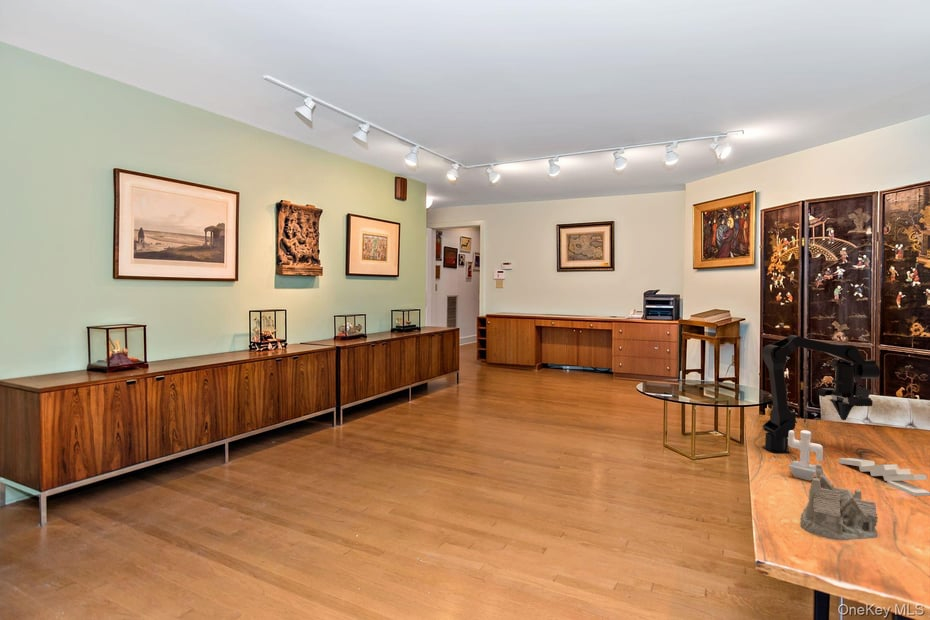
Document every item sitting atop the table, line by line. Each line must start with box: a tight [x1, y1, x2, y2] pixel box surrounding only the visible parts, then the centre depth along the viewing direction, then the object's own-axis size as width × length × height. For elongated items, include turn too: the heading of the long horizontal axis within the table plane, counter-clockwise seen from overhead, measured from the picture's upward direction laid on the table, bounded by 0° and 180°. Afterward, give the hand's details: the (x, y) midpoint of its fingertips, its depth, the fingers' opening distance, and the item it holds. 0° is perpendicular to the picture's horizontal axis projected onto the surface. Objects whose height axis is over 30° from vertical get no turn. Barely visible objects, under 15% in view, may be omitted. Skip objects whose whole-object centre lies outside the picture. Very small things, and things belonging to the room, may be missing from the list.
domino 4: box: [882, 474, 928, 482], centre depth 154 cm, size 5×2×9 cm
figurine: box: [787, 429, 824, 482], centre depth 161 cm, size 7×9×15 cm
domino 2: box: [858, 463, 900, 473], centre depth 163 cm, size 5×2×9 cm
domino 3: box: [870, 468, 912, 477], centre depth 159 cm, size 5×2×9 cm
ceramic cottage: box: [800, 463, 879, 541], centre depth 126 cm, size 16×16×15 cm
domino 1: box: [838, 457, 876, 467], centre depth 170 cm, size 5×2×9 cm
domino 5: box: [886, 480, 930, 497], centre depth 152 cm, size 5×2×9 cm
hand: (843, 419), depth 185 cm, fingers closed
